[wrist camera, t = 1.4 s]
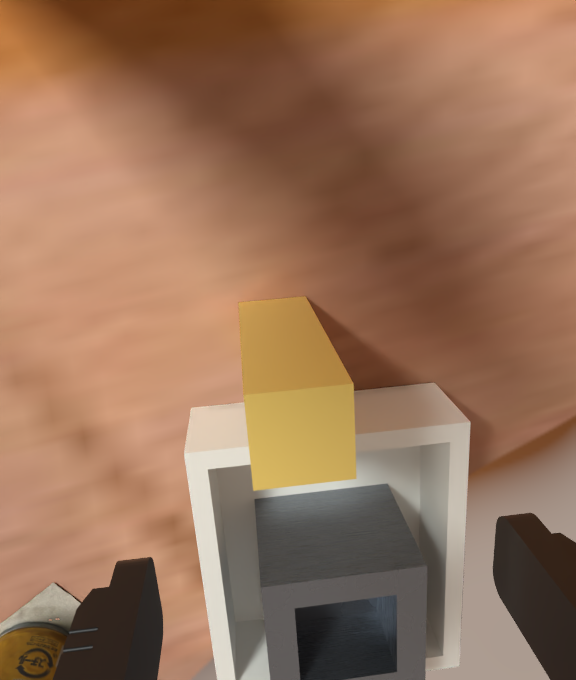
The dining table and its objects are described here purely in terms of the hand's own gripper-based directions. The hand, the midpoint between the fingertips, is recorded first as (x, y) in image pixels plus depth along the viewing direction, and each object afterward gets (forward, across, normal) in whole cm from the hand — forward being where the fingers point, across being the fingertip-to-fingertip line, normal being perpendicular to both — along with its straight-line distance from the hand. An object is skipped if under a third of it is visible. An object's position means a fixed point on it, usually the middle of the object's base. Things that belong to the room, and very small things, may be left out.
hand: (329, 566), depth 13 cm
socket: (+17, -2, +14) cm, 22 cm away
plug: (+18, 0, 0) cm, 18 cm away
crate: (+18, -2, +12) cm, 22 cm away
